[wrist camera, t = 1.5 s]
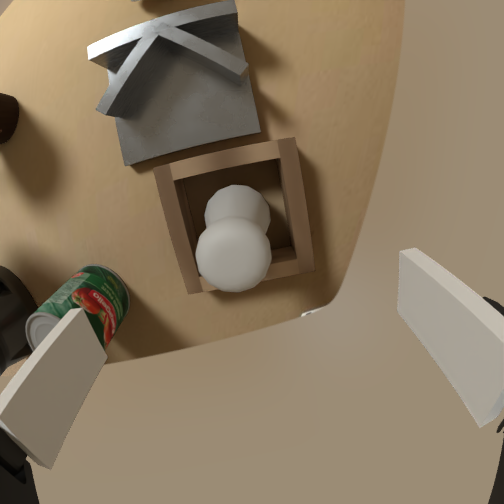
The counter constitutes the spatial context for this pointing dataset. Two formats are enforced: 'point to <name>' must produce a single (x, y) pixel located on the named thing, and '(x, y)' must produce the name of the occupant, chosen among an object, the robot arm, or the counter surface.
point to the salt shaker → (235, 239)
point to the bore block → (172, 174)
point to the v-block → (177, 82)
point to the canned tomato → (84, 304)
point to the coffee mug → (8, 117)
